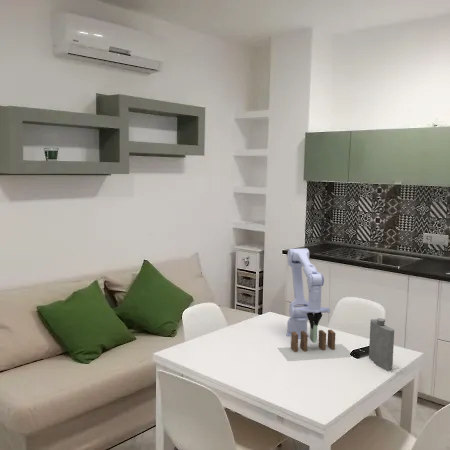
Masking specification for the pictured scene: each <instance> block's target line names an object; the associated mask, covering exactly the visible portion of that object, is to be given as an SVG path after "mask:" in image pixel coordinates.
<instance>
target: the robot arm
mask: <svg viewBox="0 0 450 450" xmlns="http://www.w3.org/2000/svg"><path fill="white" fill-rule="evenodd" d="M287 263H288V266H289V267H290V268H291V273H292V285H293V295H294V296H293V298H294V300H292V301H291V302H290V303H289V310H288V311H289V318H288V320H287V326H286V328H287V329H286V331H287V332H286V336H287V337H291V332H296V333H297V334H298V340H300V337H301V331H304V332H305V333H307V334H308V322H309V326H310V327H311V329H313V325H314V324H315V325H317V327H319V326H318V325H319V322H321V321H320V320H321V319H322V317H323V313H328V314H330V312H331V308H330V307H322V304H321V303H322V286H324V283H325V278H324V274H323V273H322V272H318V269H317V267H315V264H313V263H311V261H310V250H309V249H308V248H307V247H305V248H289V249H288V250H287ZM303 273H304V275H305V277H306V284H307V290H308V300H307V299H305V294H304V293H305V291H304V281H303ZM310 327H309V328H310ZM308 338H310V334H308Z"/></svg>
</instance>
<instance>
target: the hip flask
mask: <svg viewBox="0 0 450 450" xmlns="http://www.w3.org/2000/svg"><path fill="white" fill-rule="evenodd" d="M394 343H395V329H394V328H391V327H389V326H387V325H386V319H385V318H380V317H378V318H372V319H370V327H369V344H368V345H369V348H368V358H369V360H370V361H371V362H373V364H375V365H376V366H378V367H379V368H381V369H383V370H384V371H385V372H391V371H393V363H394V345H395V344H394Z"/></svg>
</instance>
